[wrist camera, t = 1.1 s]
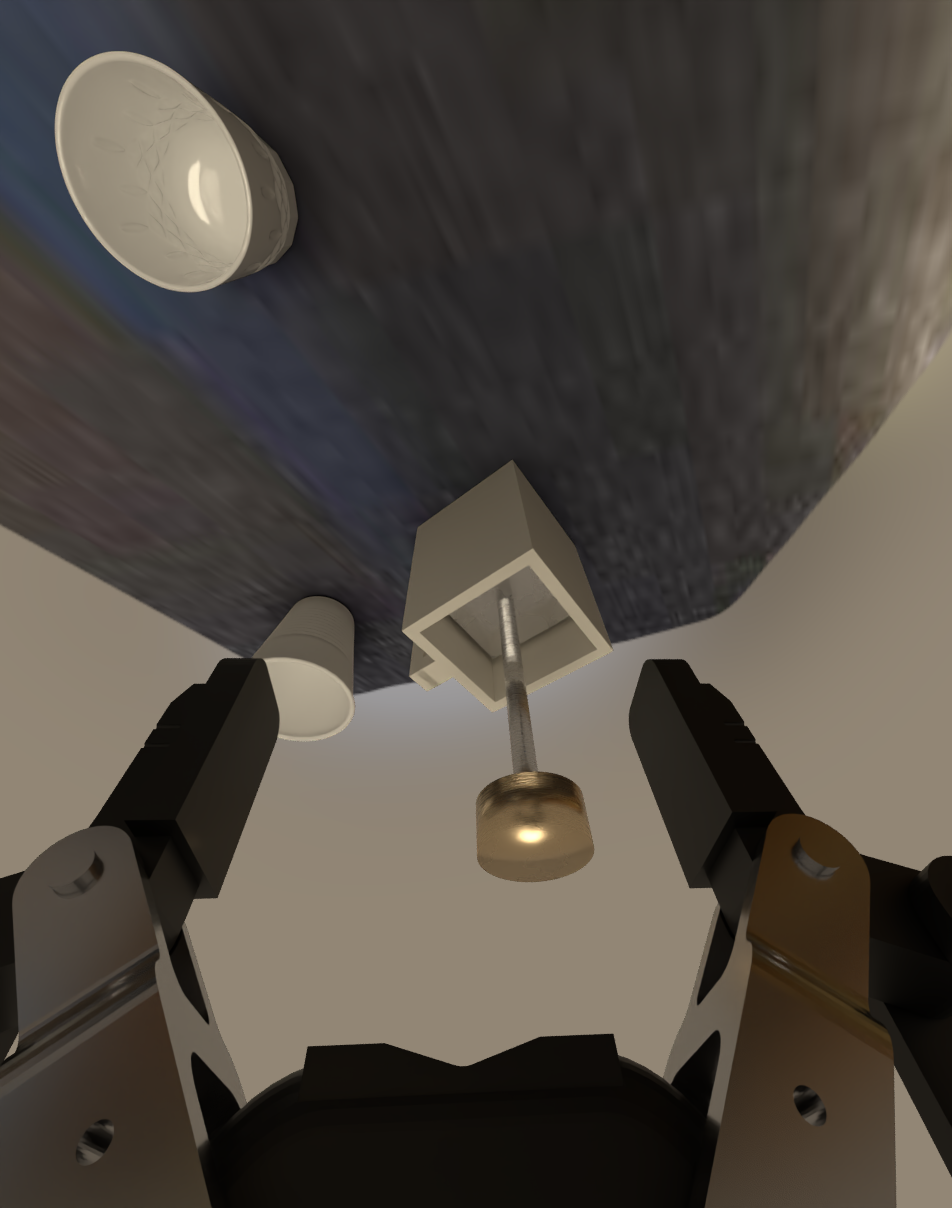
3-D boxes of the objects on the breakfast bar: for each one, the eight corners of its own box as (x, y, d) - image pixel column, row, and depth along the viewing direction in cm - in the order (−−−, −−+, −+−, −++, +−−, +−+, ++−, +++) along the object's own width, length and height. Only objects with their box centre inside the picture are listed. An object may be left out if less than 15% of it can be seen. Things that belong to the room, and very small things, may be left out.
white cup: (318, 280, 32) (270, 294, 24) (194, 277, 31) (103, 290, 23) (294, 109, 27) (223, 54, 19) (148, 104, 27) (14, 46, 19)
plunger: (519, 533, 33) (567, 782, 18) (575, 605, 36) (654, 860, 21) (431, 590, 35) (409, 849, 20) (492, 651, 39) (512, 908, 24)
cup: (251, 590, 46) (202, 673, 37) (349, 566, 45) (321, 646, 36) (301, 664, 52) (268, 750, 43) (388, 644, 51) (373, 730, 42)
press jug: (512, 459, 39) (532, 548, 28) (574, 545, 44) (613, 650, 33) (392, 545, 44) (367, 652, 32) (460, 615, 48) (460, 728, 37)
